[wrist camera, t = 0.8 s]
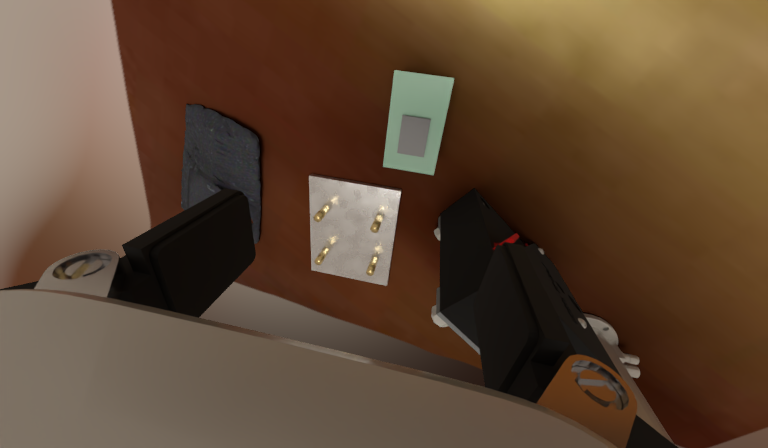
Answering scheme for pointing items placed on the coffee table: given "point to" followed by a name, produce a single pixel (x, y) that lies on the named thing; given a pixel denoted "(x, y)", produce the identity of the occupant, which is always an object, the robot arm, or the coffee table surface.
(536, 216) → the coffee table surface
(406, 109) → the green block
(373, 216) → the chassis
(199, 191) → the dark slate chunk
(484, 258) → the electrical component
